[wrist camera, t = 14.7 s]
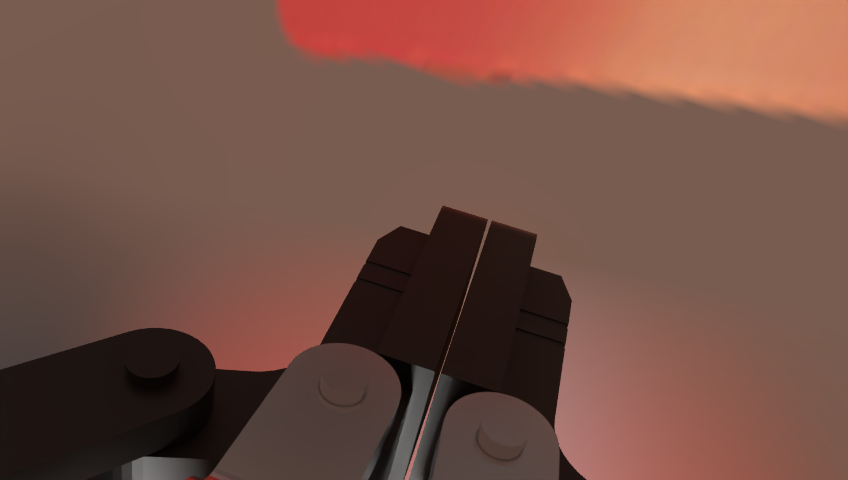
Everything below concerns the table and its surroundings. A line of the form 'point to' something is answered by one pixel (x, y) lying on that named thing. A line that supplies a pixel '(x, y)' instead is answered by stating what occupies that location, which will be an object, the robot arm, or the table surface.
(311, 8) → the table surface
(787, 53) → the table surface
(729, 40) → the table surface
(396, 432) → the robot arm
